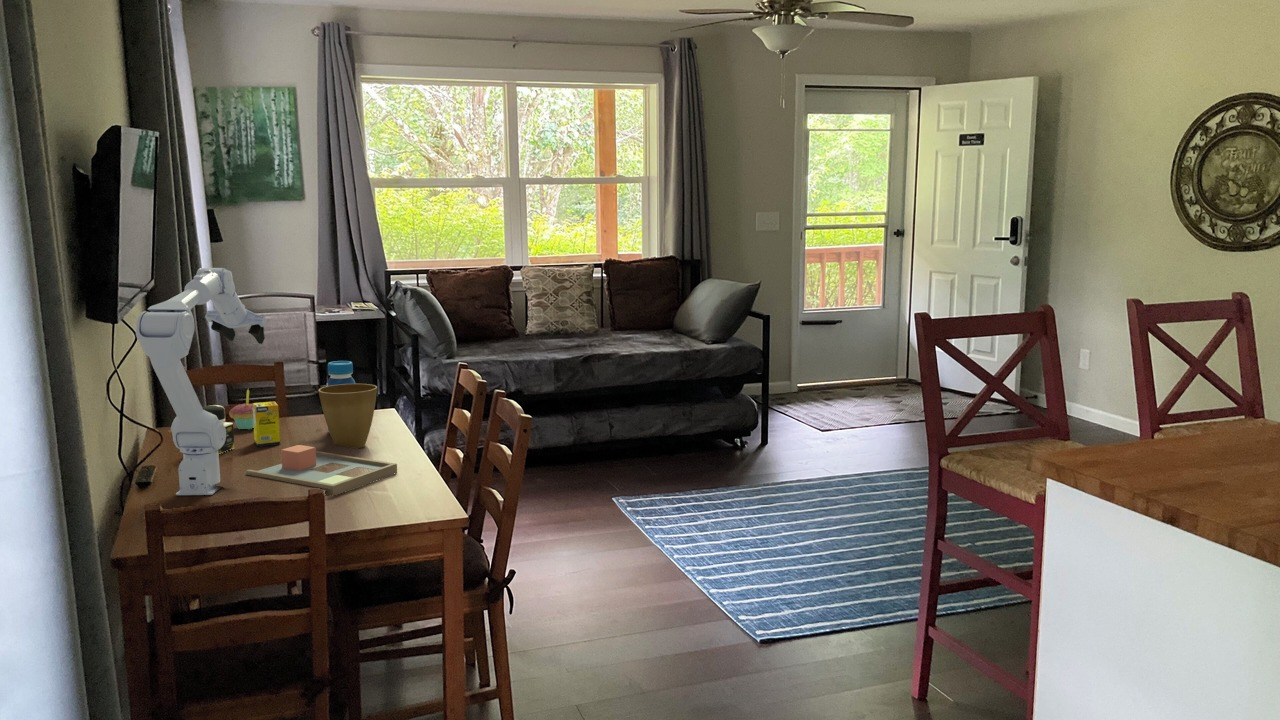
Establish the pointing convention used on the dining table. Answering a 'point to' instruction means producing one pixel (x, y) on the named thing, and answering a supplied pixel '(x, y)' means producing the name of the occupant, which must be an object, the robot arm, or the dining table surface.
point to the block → (298, 457)
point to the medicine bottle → (220, 414)
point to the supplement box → (266, 423)
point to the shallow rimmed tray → (330, 473)
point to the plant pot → (348, 412)
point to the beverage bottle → (340, 373)
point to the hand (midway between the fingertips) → (247, 339)
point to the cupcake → (243, 414)
